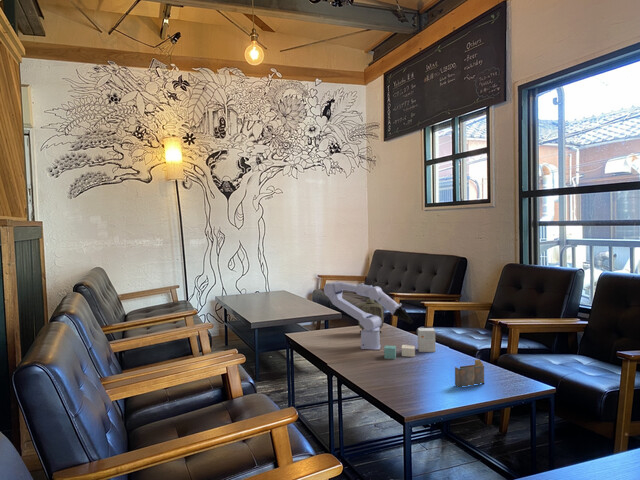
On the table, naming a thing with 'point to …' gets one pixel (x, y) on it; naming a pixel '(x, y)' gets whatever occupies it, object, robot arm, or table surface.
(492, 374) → the table surface
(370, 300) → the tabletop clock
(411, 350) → the cream block
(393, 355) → the teal cube
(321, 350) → the table surface
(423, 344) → the small box
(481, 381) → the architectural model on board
